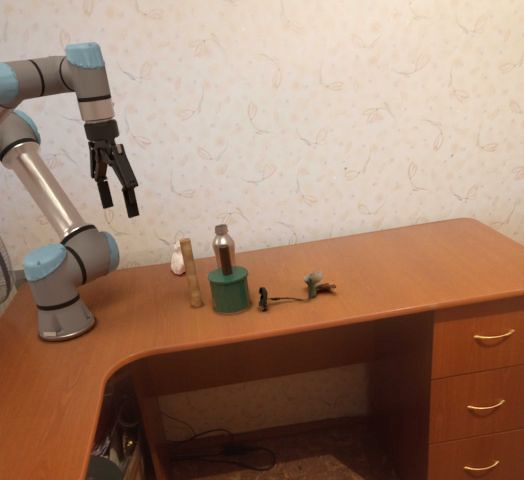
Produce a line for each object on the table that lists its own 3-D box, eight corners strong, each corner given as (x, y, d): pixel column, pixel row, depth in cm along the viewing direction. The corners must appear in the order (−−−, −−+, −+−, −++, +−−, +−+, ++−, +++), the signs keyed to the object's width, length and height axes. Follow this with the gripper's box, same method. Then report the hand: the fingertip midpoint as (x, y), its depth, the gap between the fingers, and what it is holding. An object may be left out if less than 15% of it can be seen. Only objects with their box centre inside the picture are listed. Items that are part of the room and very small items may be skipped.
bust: (187, 282, 178) (203, 252, 175) (167, 273, 174) (182, 243, 171) (180, 271, 188) (195, 242, 185) (161, 262, 184) (175, 233, 181)
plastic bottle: (238, 294, 159) (229, 229, 149) (217, 294, 161) (206, 230, 151) (243, 285, 165) (235, 222, 155) (223, 285, 166) (212, 223, 156)
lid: (199, 281, 148) (193, 249, 144) (228, 267, 155) (224, 236, 150) (227, 289, 141) (222, 256, 136) (257, 274, 148) (253, 242, 143)
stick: (190, 306, 156) (177, 240, 146) (197, 302, 158) (185, 237, 148) (196, 308, 154) (184, 242, 144) (204, 304, 156) (192, 238, 146)
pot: (207, 309, 153) (201, 278, 148) (232, 295, 159) (228, 266, 154) (232, 318, 146) (227, 286, 141) (258, 303, 152) (254, 272, 148)
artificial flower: (255, 308, 153) (253, 273, 150) (330, 301, 157) (329, 267, 155) (262, 312, 144) (260, 275, 142) (340, 305, 149) (340, 269, 146)
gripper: (140, 120, 115) (159, 216, 126) (91, 115, 132) (111, 200, 143) (109, 126, 111) (131, 225, 122) (62, 120, 128) (85, 207, 139)
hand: (120, 212), depth 133 cm, fingers open, 13 cm apart
